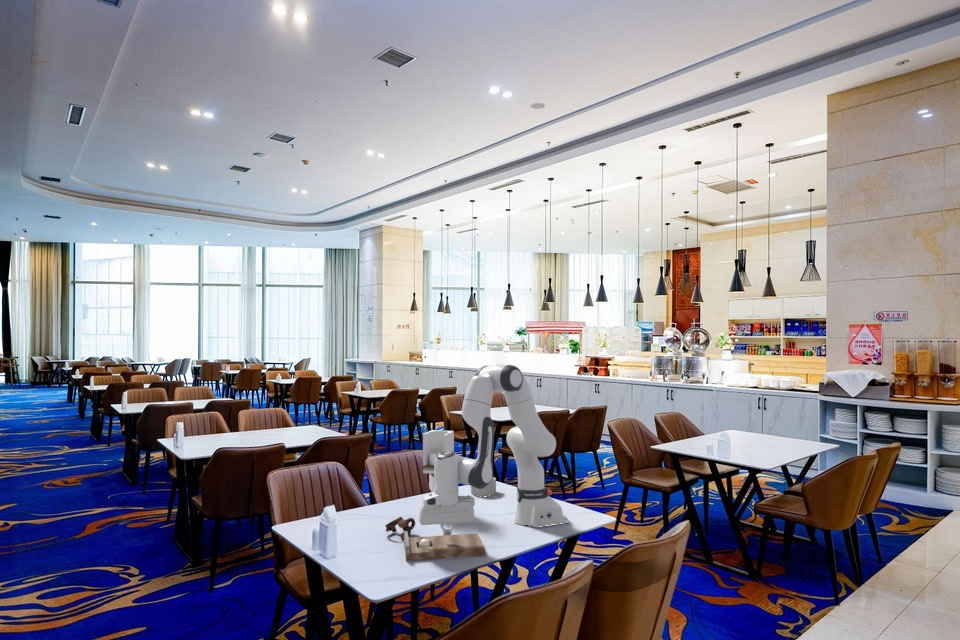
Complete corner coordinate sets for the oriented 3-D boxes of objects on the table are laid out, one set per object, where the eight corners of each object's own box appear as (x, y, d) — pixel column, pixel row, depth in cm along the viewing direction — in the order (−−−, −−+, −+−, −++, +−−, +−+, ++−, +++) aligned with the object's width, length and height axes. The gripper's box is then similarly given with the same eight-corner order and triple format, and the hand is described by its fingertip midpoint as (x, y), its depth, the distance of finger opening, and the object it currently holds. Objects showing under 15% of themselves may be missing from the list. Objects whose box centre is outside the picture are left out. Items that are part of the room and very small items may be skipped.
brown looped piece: (396, 543, 219) (387, 523, 221) (388, 547, 226) (379, 528, 229) (422, 529, 226) (413, 509, 228) (414, 533, 234) (405, 514, 236)
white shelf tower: (432, 506, 266) (431, 430, 267) (454, 508, 263) (453, 431, 264) (423, 513, 255) (422, 434, 256) (446, 515, 252) (445, 435, 253)
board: (477, 539, 221) (477, 526, 221) (485, 555, 205) (484, 541, 206) (404, 544, 216) (404, 531, 217) (406, 560, 201) (405, 546, 201)
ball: (431, 540, 212) (422, 535, 211) (432, 544, 208) (423, 539, 207) (425, 550, 212) (416, 544, 211) (426, 554, 208) (417, 548, 207)
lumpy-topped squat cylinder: (468, 494, 286) (468, 477, 286) (485, 489, 295) (485, 472, 295) (483, 498, 279) (483, 480, 279) (501, 493, 288) (501, 475, 288)
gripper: (473, 492, 217) (473, 529, 216) (418, 496, 213) (419, 534, 213) (475, 497, 210) (476, 535, 210) (419, 501, 207) (420, 540, 207)
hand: (447, 534), depth 211 cm, fingers closed
